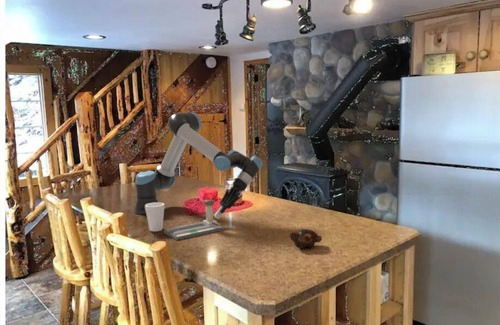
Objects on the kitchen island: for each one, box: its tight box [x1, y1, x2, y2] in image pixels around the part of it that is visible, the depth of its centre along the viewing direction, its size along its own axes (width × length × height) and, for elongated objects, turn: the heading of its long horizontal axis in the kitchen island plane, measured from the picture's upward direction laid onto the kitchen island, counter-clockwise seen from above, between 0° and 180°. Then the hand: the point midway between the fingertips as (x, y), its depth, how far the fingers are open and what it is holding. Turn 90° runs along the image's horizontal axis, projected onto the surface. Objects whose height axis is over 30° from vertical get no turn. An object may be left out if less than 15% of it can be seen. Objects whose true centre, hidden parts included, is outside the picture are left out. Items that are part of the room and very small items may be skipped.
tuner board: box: [163, 221, 225, 241], centre depth 203 cm, size 14×26×3 cm, turn 125°
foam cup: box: [145, 202, 165, 232], centre depth 207 cm, size 10×9×13 cm
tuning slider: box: [202, 199, 218, 226], centre depth 205 cm, size 11×5×13 cm, turn 35°
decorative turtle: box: [289, 228, 323, 250], centre depth 179 cm, size 10×15×8 cm, turn 114°
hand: (216, 217), depth 210 cm, fingers closed
